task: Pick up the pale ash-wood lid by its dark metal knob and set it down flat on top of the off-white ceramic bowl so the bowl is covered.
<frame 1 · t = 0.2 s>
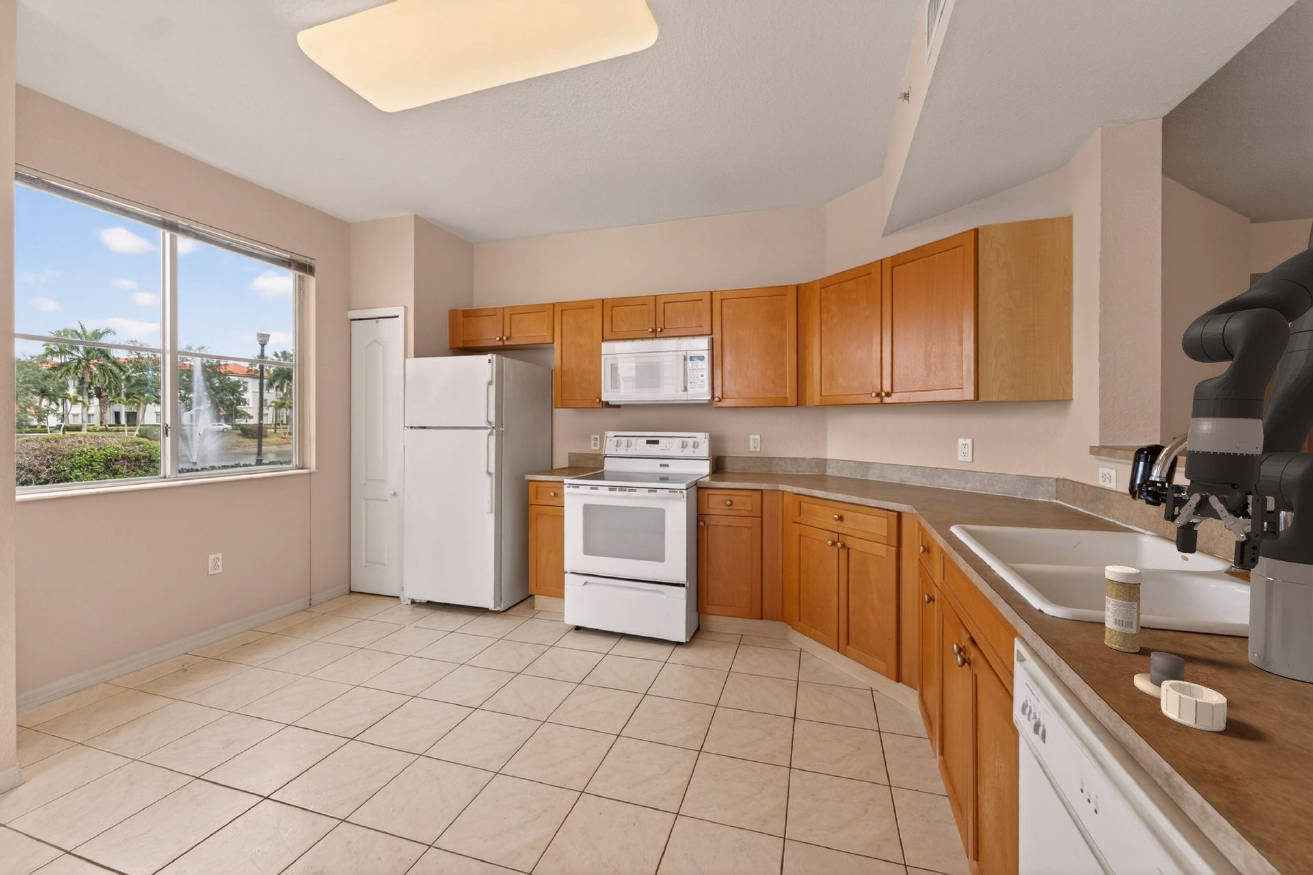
hand: (1213, 560, 77), 18 cm above the counter, tool pointing down, fingers open, 8 cm apart
bowl: (1192, 718, 67), on the counter
lid: (1166, 692, 74), on the counter
sprinkles bottle: (1121, 648, 88), on the counter
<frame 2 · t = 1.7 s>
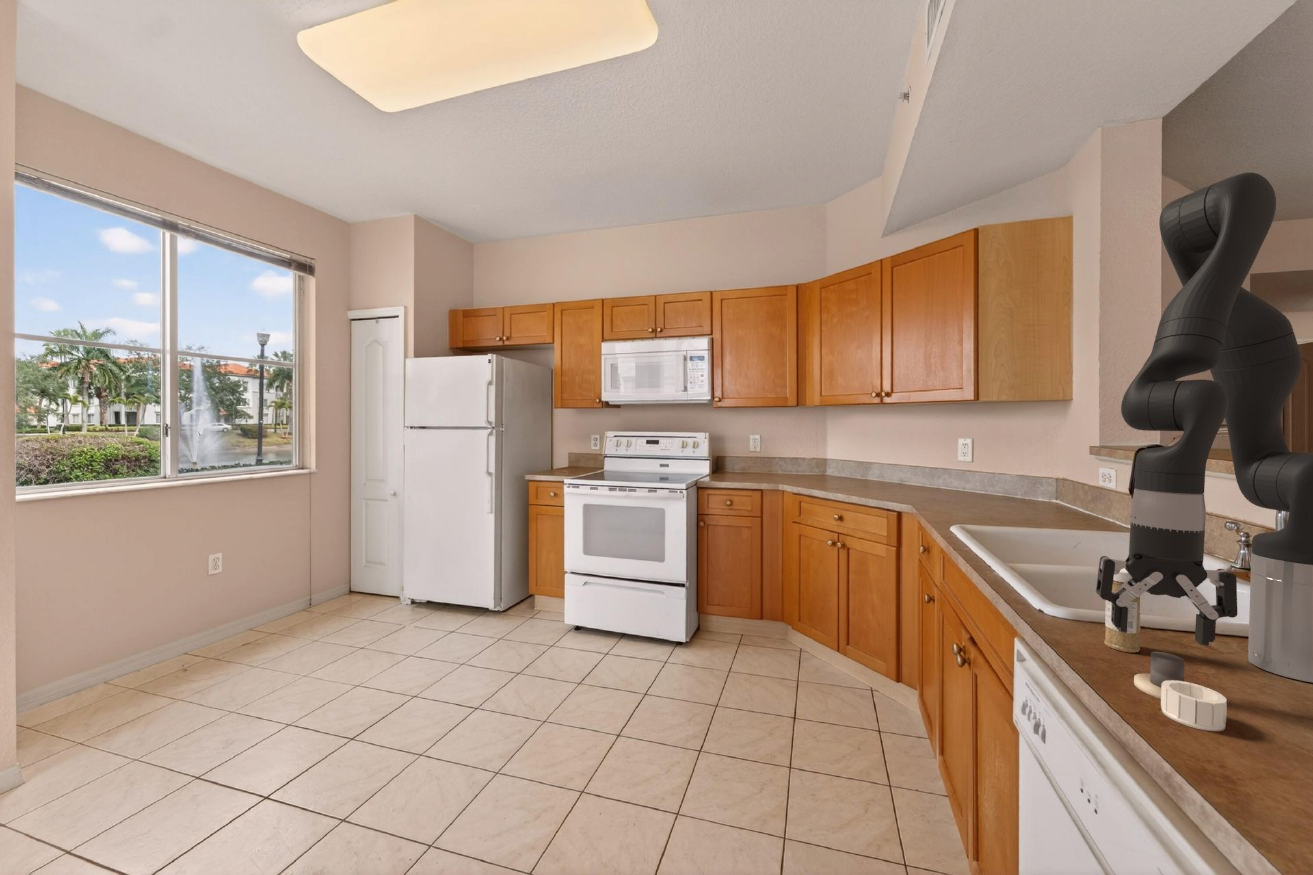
hand: (1160, 636, 74), 7 cm above the counter, tool pointing down, fingers open, 8 cm apart
nothing on the counter moved.
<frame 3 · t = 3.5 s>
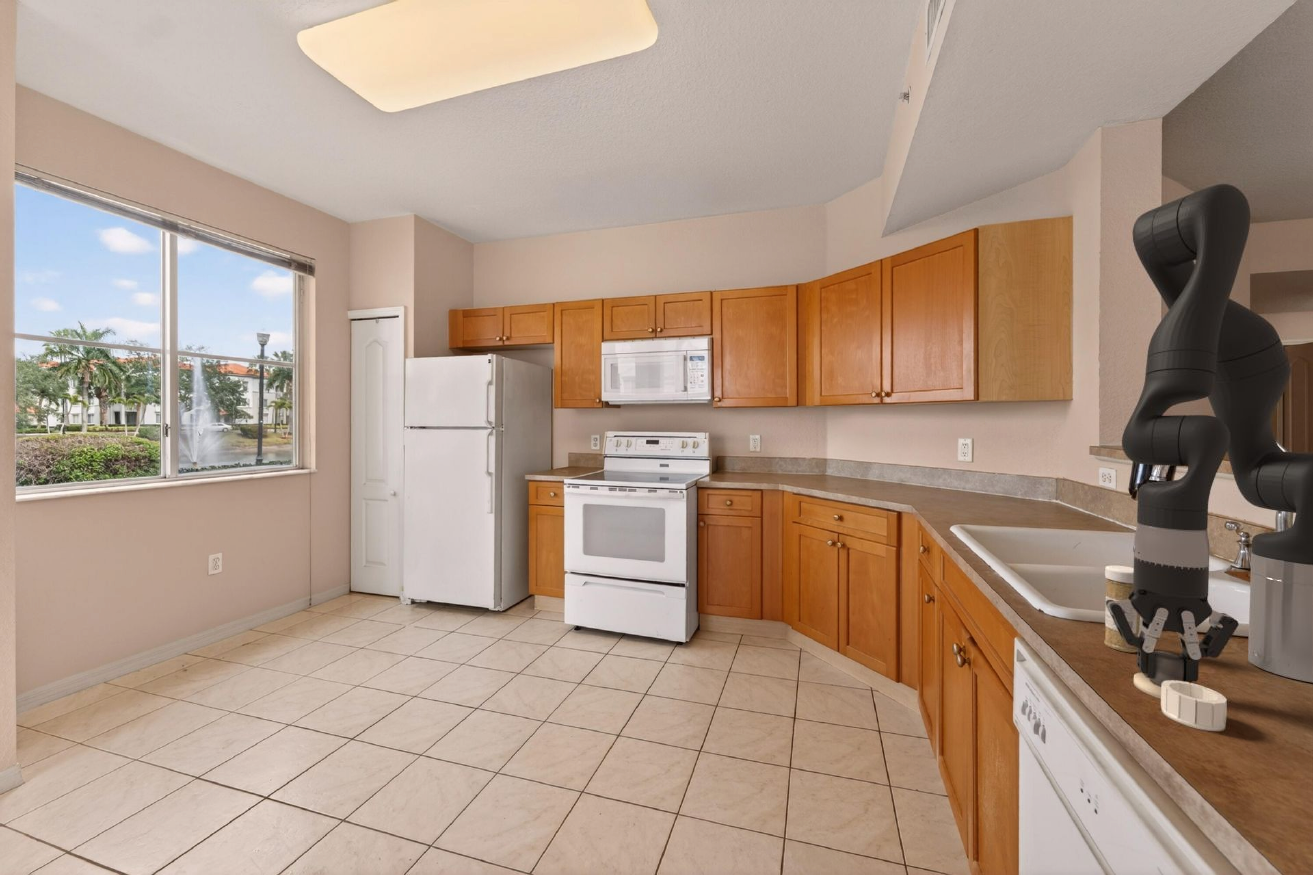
hand: (1166, 678, 74), 2 cm above the counter, tool pointing down, fingers closed on lid, 3 cm apart
lid: (1166, 691, 74), on the counter, touching gripper
everything else where it was.
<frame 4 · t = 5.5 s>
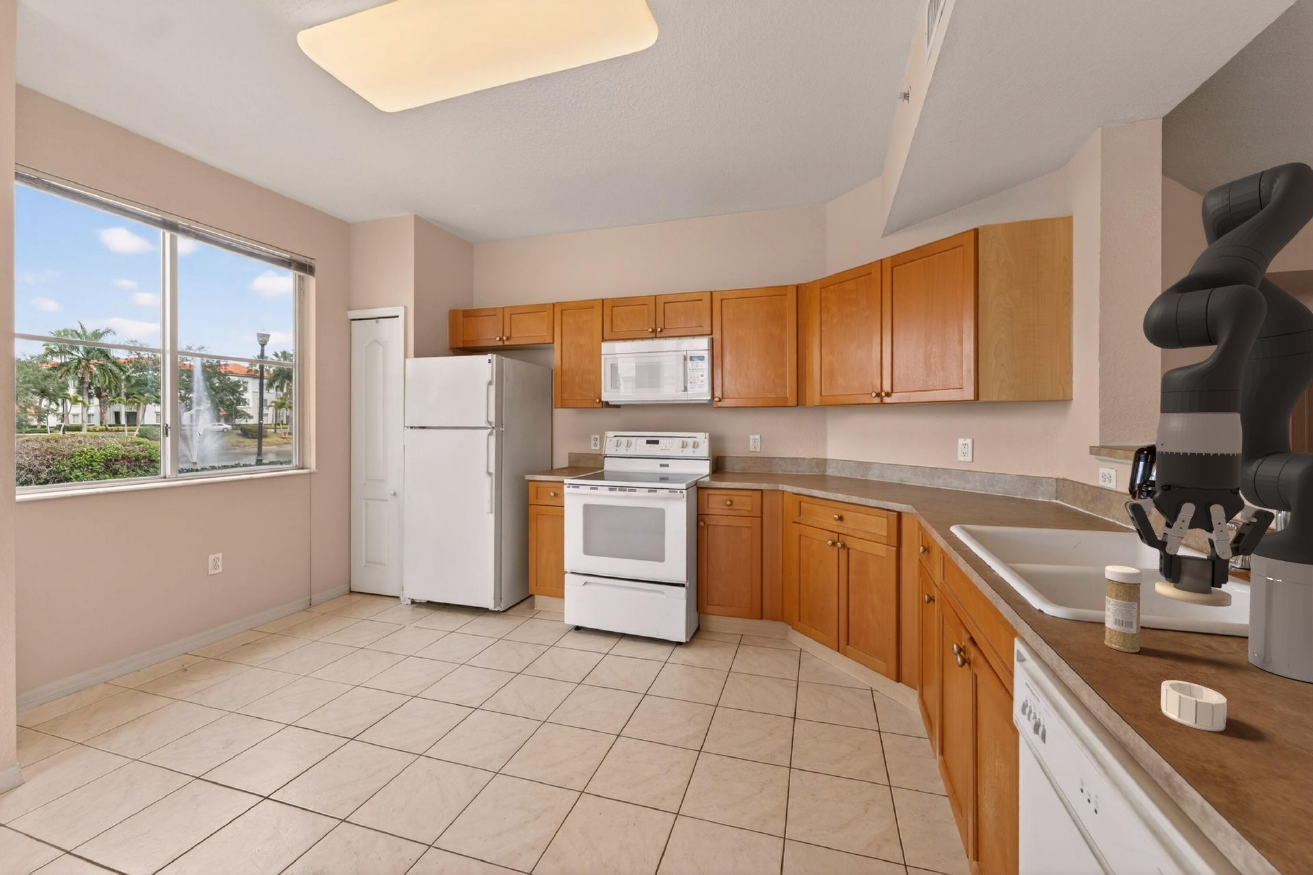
hand: (1192, 583, 67), 17 cm above the counter, tool pointing down, fingers closed on lid, 3 cm apart
lid: (1191, 597, 67), point 16 cm above the counter, touching gripper
everything else where it was.
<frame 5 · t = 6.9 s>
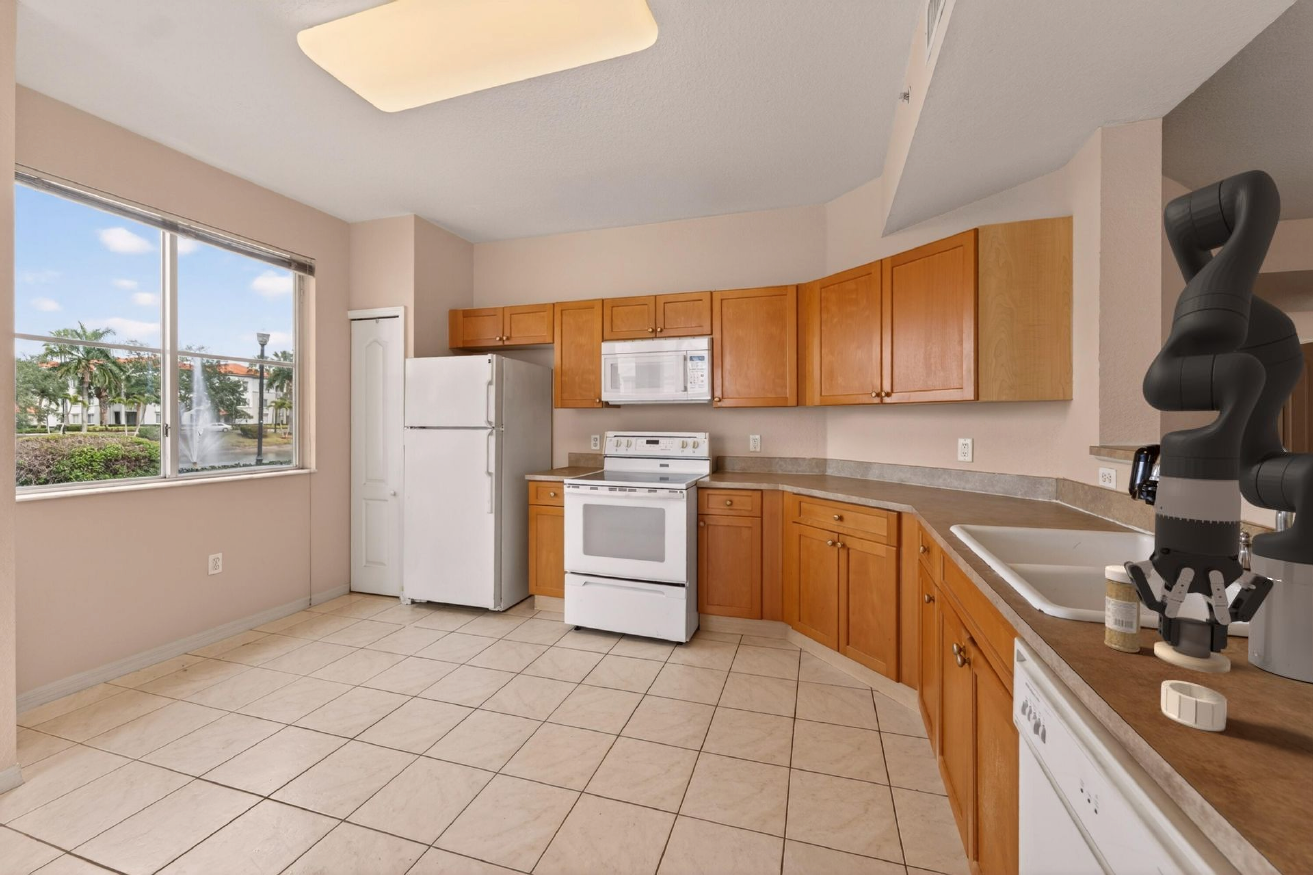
hand: (1191, 646, 67), 9 cm above the counter, tool pointing down, fingers closed on lid, 3 cm apart
lid: (1190, 660, 67), point 7 cm above the counter, touching gripper
everything else where it was.
when the fingers open (7 cm above the counter, at t = 7.7 s): lid drops 1 cm, resting on bowl.
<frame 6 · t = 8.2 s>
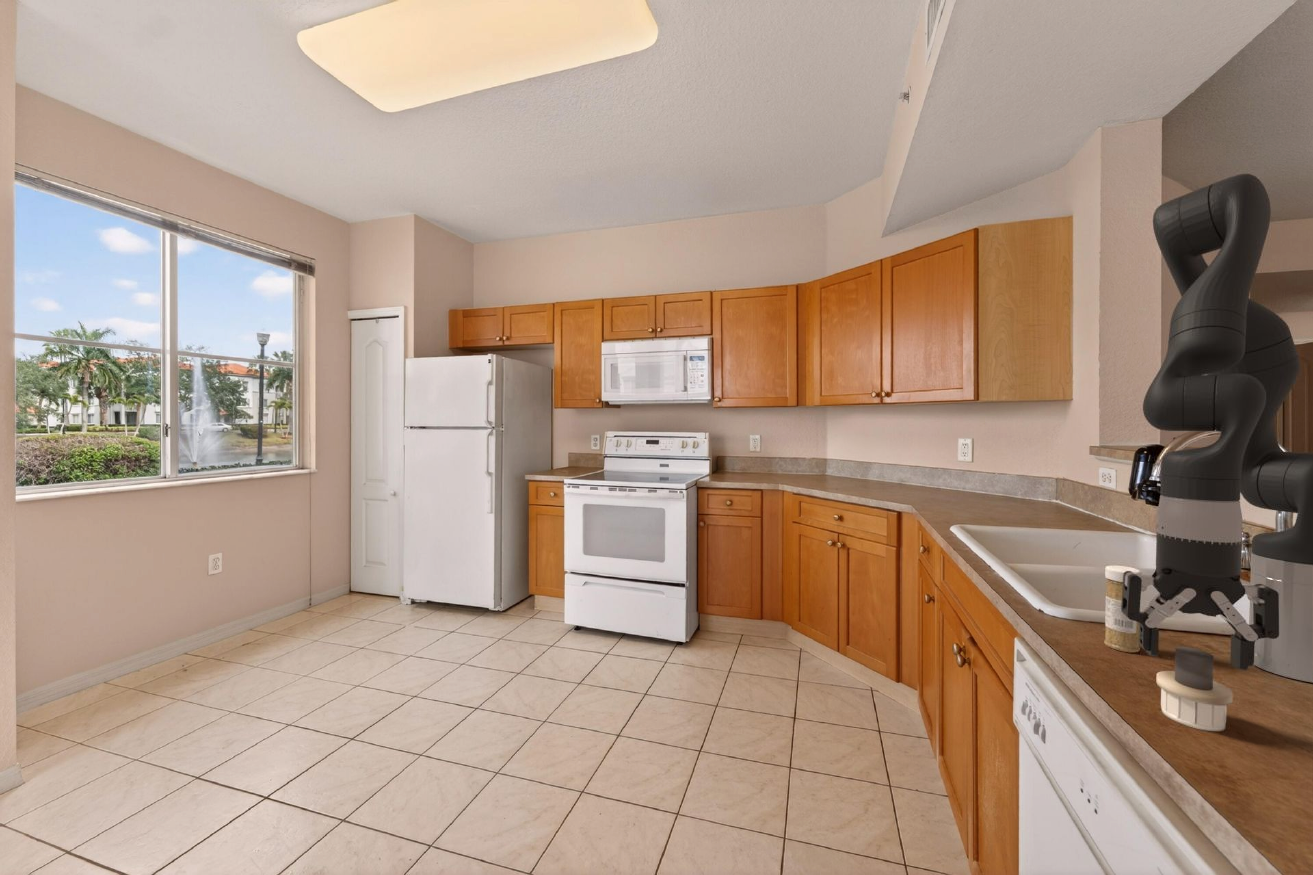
hand: (1194, 660, 67), 8 cm above the counter, tool pointing down, fingers open, 8 cm apart
lid: (1193, 691, 67), point 3 cm above the counter, touching bowl
everything else where it was.
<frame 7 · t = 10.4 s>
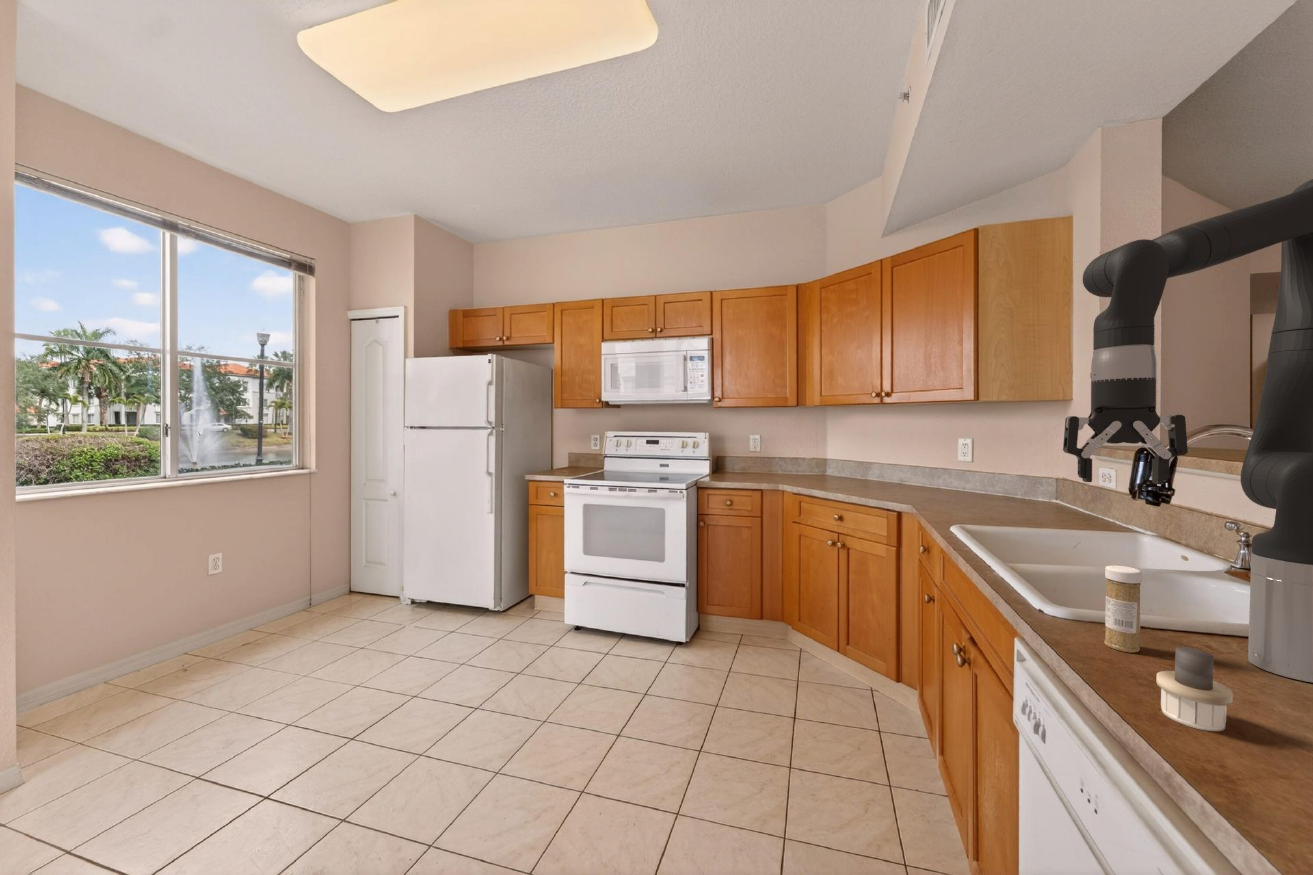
hand: (1121, 482, 81), 28 cm above the counter, tool pointing down, fingers open, 8 cm apart
nothing on the counter moved.
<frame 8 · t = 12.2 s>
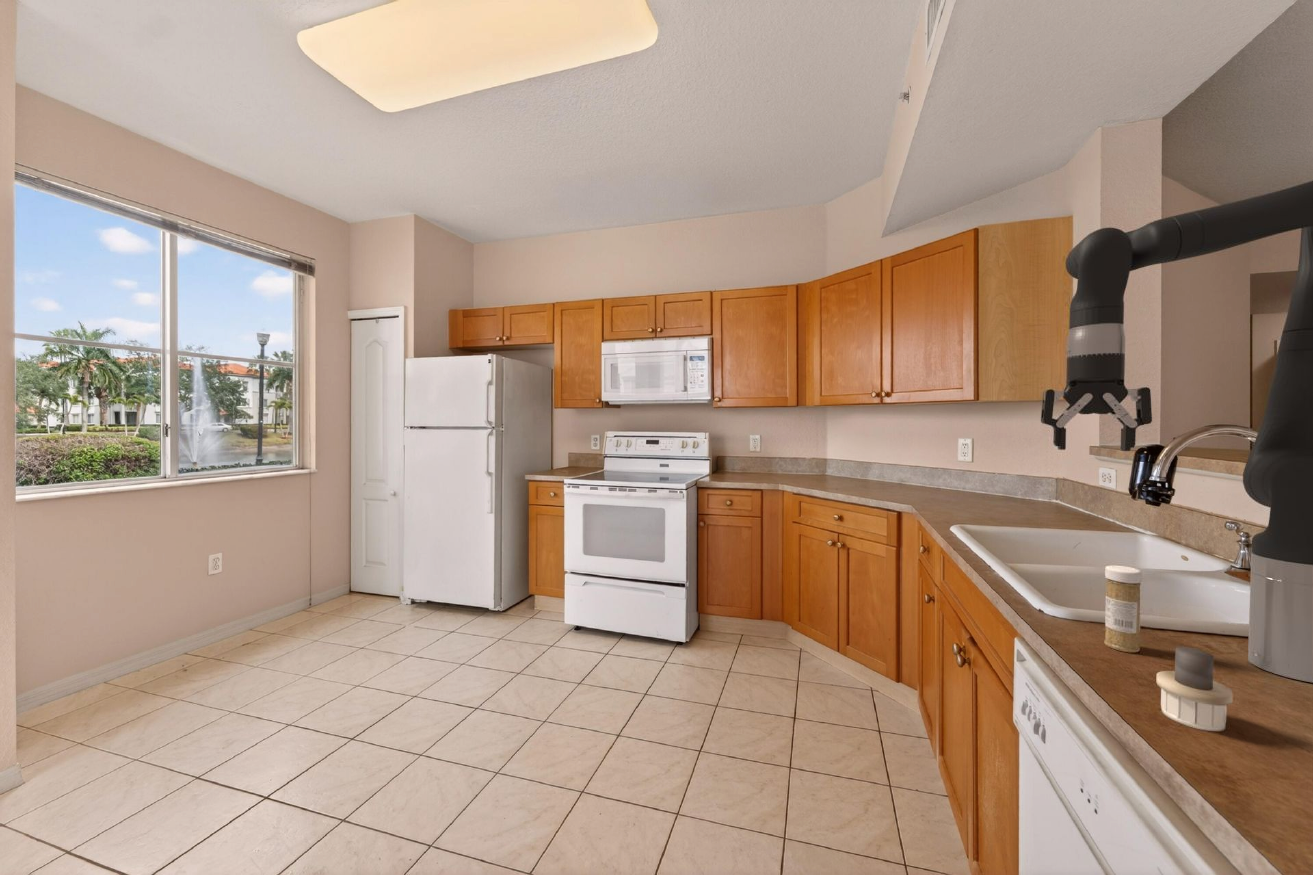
hand: (1093, 450, 89), 33 cm above the counter, tool pointing down, fingers open, 8 cm apart
nothing on the counter moved.
at the end: lid 0.0 cm from the bowl (horizontally); lid point 3.5 cm above the counter; lid tilted 0° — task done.
